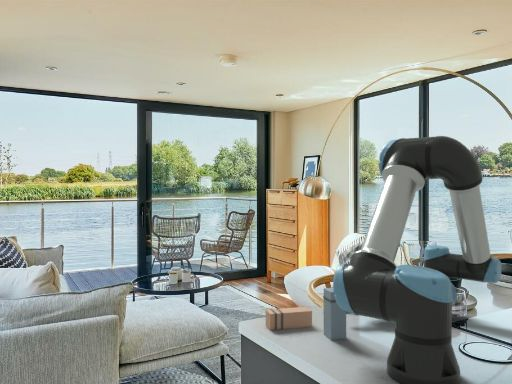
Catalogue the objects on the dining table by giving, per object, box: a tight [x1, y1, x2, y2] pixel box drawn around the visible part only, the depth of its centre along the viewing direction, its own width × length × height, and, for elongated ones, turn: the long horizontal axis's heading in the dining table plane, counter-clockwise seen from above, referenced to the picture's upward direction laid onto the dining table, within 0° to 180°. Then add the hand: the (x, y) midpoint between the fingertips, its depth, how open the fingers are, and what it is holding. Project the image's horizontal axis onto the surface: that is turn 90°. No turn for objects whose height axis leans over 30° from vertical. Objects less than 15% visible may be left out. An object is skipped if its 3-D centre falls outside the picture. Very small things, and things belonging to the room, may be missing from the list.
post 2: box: [322, 287, 347, 341], centre depth 120 cm, size 5×5×13 cm
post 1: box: [265, 306, 313, 331], centre depth 129 cm, size 5×5×13 cm
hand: (343, 303), depth 131 cm, fingers closed
